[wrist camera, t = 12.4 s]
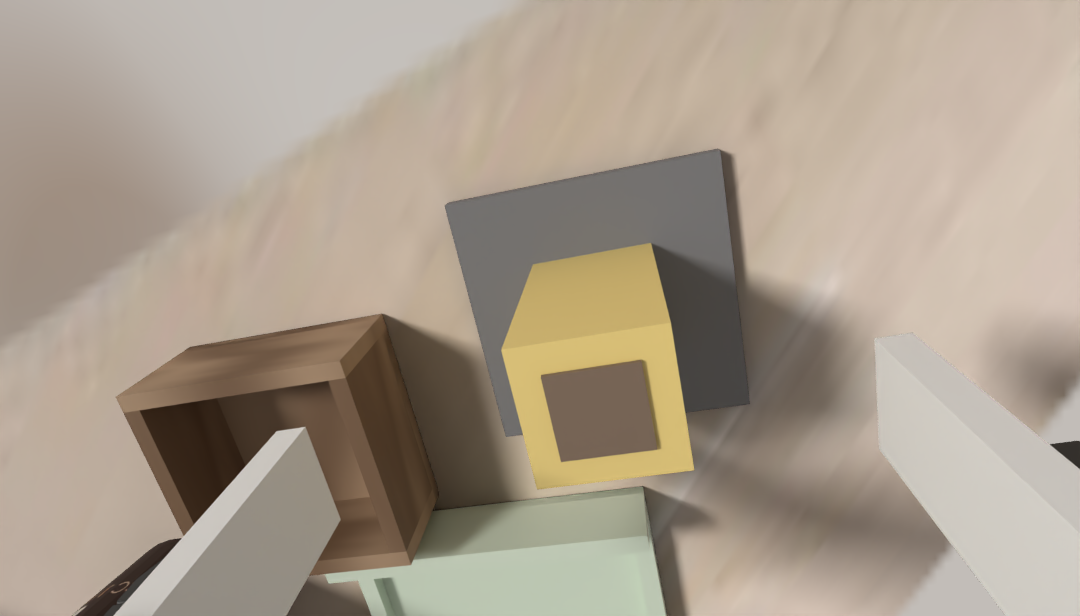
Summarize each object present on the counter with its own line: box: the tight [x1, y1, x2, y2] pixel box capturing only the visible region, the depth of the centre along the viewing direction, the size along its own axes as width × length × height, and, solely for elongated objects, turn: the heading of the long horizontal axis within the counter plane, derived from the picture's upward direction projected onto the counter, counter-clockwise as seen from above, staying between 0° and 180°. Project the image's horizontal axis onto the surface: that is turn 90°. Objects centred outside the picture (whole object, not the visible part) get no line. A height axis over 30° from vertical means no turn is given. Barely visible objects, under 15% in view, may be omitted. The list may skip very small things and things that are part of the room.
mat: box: [445, 149, 750, 437], centre depth 22 cm, size 9×9×1 cm
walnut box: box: [116, 314, 439, 576], centre depth 23 cm, size 8×8×4 cm
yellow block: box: [501, 243, 694, 489], centre depth 19 cm, size 4×4×7 cm
